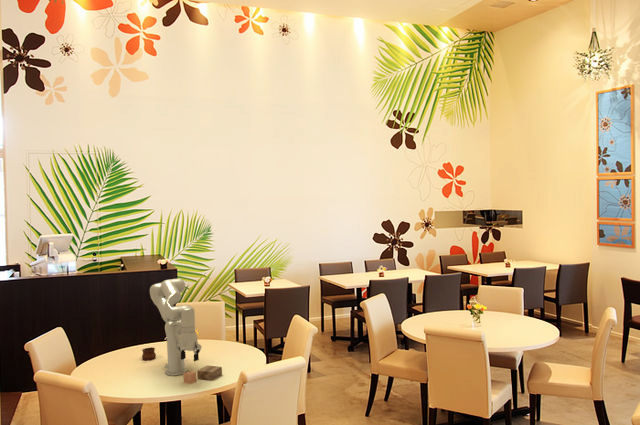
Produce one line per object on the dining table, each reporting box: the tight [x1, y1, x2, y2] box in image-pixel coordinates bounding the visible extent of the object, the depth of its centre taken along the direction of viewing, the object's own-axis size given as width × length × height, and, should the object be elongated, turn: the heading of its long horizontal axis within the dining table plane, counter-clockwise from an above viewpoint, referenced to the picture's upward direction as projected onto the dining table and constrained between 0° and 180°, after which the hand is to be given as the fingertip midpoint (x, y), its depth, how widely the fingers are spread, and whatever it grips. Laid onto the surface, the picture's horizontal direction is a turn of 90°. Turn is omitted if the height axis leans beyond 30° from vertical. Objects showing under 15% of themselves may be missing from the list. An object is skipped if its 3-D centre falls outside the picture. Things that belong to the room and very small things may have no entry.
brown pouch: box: [141, 347, 157, 362], centre depth 342 cm, size 18×18×7 cm
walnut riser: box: [196, 365, 223, 381], centre depth 302 cm, size 10×10×5 cm
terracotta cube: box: [182, 370, 198, 384], centre depth 295 cm, size 5×5×5 cm
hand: (189, 359), depth 294 cm, fingers open, 9 cm apart
